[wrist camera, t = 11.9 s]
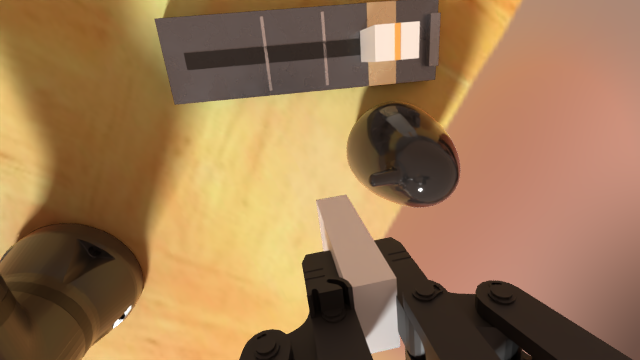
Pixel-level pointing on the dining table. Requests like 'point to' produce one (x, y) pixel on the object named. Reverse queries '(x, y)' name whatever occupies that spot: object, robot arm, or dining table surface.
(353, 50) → the console
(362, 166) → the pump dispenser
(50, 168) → the dining table surface
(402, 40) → the fader knob
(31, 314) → the robot arm
